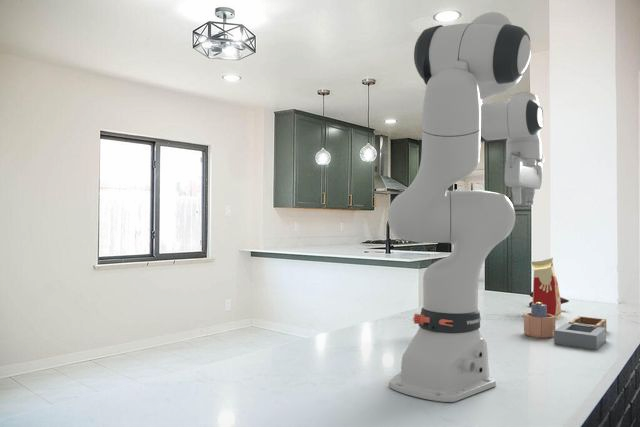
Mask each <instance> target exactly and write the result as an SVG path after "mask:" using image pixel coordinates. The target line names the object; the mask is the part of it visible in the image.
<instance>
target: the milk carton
mask: <svg viewBox="0 0 640 427" xmlns="http://www.w3.org/2000/svg"><path fill="white" fill-rule="evenodd" d="M553 260H554V257H551V258H548V259H544V260H537V261H530V264H531V266H532V268H533V280H532V284H533V285H532V286H533V287H532V292H533V297H532V300H531V302H532V304H536V302H541V303H542V304H545V305H547V314H551V315H554V316H555V320H558V319H559V318H560V317H561V316H562V304H561V300H560V297H561V294H560V289H559V284H558V279H557V274H556V271H555V267H554V265H553Z"/></svg>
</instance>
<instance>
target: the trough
mask: <svg viewBox="0 0 640 427" xmlns="http://www.w3.org/2000/svg"><path fill="white" fill-rule="evenodd" d="M568 323H569V324H573V323H577V324H585V325H594V326H597V327H602V328H606V329H607V319H606V318H597V317H590V316H589V317H588V316H578V315H577V317H575V318H572V319H571V320H570V321H569V322H568Z"/></svg>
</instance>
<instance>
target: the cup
mask: <svg viewBox="0 0 640 427" xmlns="http://www.w3.org/2000/svg"><path fill="white" fill-rule="evenodd" d="M554 330H556V319H555V316H554V315H551V314H547V317H542V318H541V317H532V316H531V312H526V313H524V314H523V333H524V335H525V336H527V337H531V338H539V339H550V338H551V339H552V338H554Z"/></svg>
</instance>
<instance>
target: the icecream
mask: <svg viewBox="0 0 640 427" xmlns="http://www.w3.org/2000/svg"><path fill="white" fill-rule="evenodd" d="M529 297H530V298H533V291H530V292H529ZM560 300H561V305H563V304H566V303H570V300H569V299H566V298H564V297H561V296H560ZM531 304H532V301H530V302H529V303H528V305H529V307H531Z"/></svg>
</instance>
